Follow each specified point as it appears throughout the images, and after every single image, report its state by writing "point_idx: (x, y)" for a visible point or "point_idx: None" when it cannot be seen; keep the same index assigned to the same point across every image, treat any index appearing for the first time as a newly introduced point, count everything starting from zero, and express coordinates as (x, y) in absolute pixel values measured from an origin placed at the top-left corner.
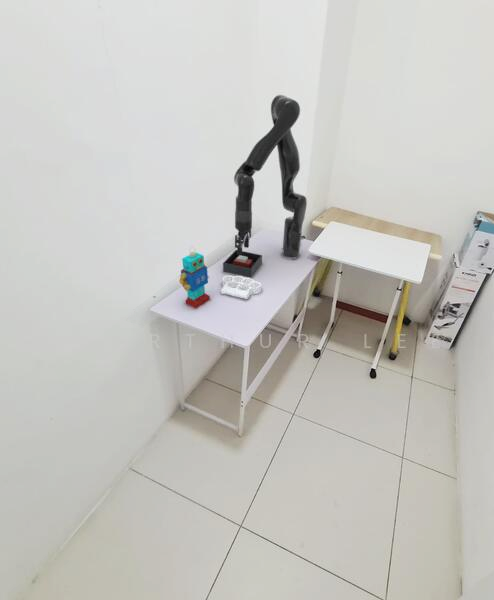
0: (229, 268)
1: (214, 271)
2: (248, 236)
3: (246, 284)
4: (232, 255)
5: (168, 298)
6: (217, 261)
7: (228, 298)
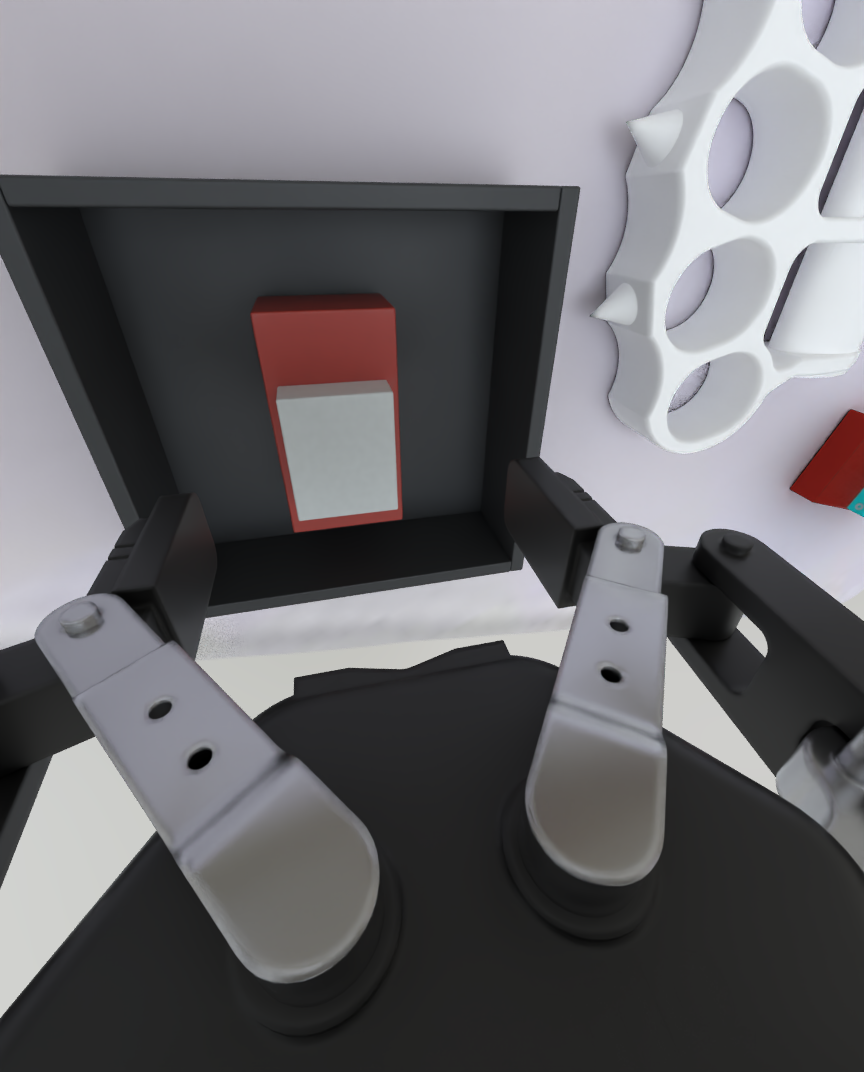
0: None
1: None
2: (220, 699)
3: (843, 129)
4: (305, 584)
5: None
6: (340, 629)
7: None
